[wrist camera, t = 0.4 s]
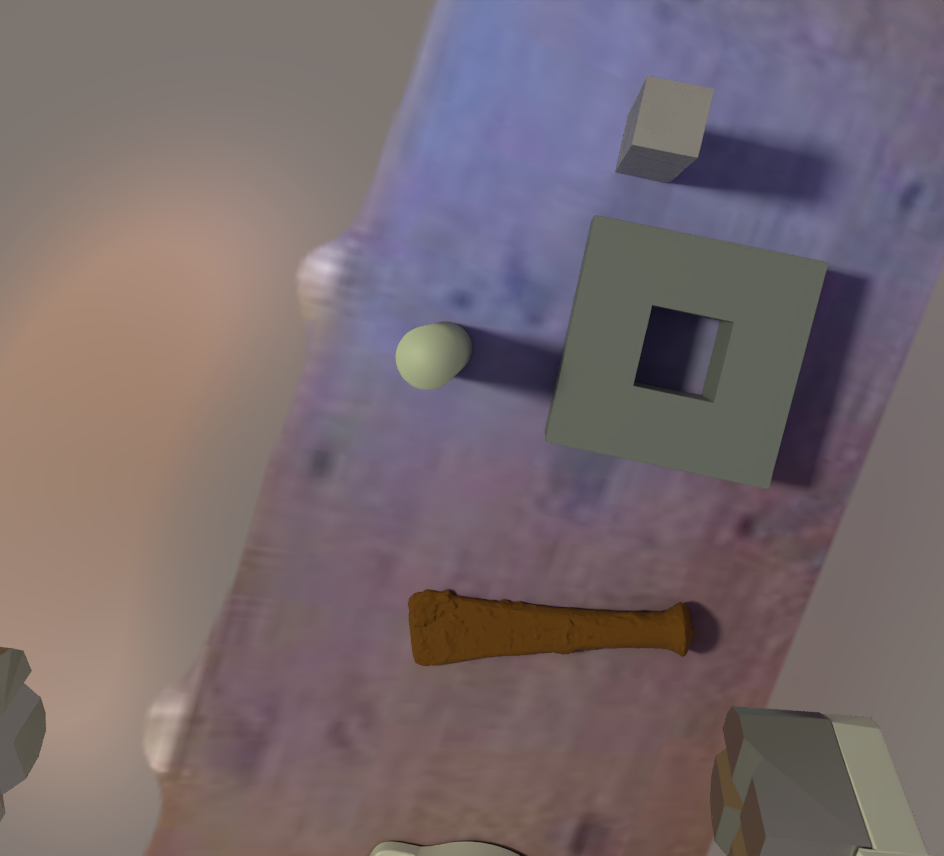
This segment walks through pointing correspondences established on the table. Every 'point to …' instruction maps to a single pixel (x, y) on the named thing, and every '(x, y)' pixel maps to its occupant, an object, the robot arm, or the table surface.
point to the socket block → (732, 363)
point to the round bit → (433, 354)
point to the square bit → (664, 129)
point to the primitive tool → (533, 628)
